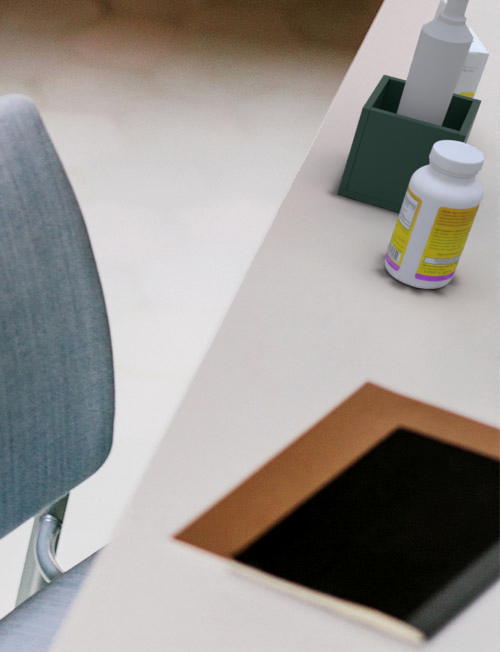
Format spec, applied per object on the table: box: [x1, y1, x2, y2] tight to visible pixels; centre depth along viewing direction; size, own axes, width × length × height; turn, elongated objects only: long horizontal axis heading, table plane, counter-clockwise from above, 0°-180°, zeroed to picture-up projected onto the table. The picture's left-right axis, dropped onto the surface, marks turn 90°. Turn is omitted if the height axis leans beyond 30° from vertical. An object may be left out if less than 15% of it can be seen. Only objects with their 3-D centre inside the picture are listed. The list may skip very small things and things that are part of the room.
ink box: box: [433, 0, 490, 99], centre depth 137 cm, size 9×5×15 cm, turn 179°
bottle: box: [397, 0, 474, 126], centre depth 121 cm, size 5×5×25 cm
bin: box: [337, 74, 482, 213], centre depth 126 cm, size 11×11×10 cm
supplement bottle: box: [384, 140, 486, 290], centre depth 112 cm, size 7×7×13 cm
